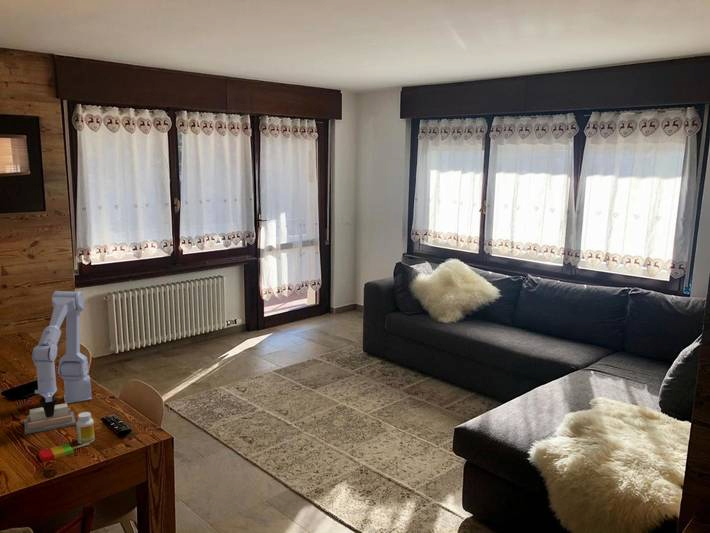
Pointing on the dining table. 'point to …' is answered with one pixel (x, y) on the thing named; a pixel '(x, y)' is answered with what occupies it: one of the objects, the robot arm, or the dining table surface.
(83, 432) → the supplement bottle
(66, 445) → the popsicle
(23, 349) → the dining table surface
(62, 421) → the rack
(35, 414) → the beige rectangular block
